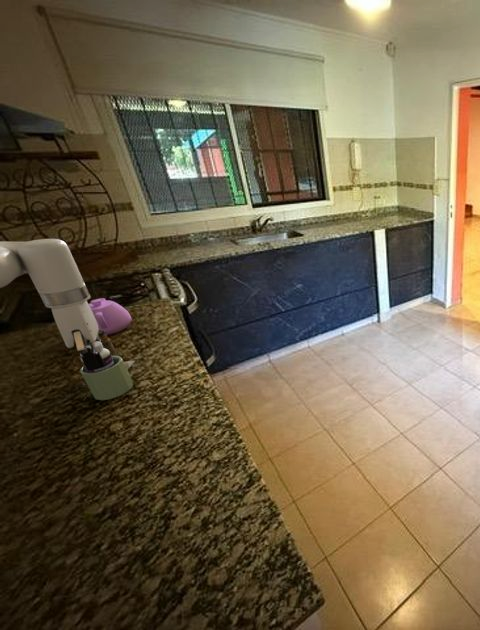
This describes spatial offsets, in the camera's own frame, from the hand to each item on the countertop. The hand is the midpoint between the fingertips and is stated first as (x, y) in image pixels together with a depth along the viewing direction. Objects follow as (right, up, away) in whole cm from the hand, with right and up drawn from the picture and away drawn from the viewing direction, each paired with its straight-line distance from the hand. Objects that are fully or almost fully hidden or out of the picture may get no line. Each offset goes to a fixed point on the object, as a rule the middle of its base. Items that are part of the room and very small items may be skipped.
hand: (98, 361), depth 85 cm
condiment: (-7, -4, +12) cm, 15 cm away
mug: (0, -8, +4) cm, 9 cm away
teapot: (-29, +7, +35) cm, 46 cm away
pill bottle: (0, -5, +2) cm, 5 cm away
